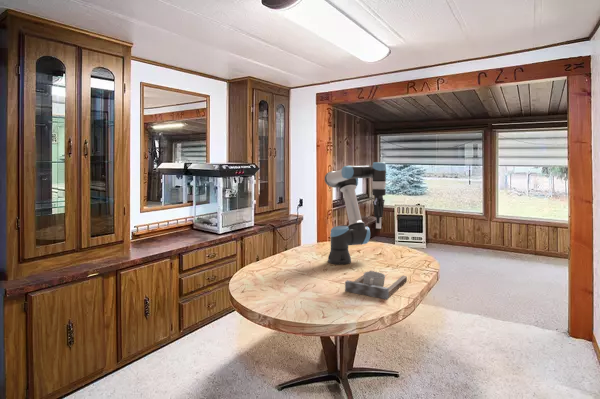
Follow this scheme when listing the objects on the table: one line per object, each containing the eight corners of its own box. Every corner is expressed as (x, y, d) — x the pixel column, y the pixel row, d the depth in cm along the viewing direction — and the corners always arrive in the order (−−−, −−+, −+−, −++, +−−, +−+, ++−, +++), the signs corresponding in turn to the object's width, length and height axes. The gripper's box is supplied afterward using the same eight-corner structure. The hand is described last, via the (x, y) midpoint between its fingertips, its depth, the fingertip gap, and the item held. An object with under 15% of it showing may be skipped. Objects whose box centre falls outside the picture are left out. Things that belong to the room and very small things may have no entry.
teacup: (368, 284, 198) (368, 269, 197) (387, 287, 192) (387, 272, 191) (357, 292, 186) (357, 276, 186) (378, 296, 181) (378, 280, 180)
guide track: (345, 291, 188) (345, 281, 187) (369, 274, 215) (369, 266, 214) (386, 299, 176) (386, 289, 175) (407, 280, 203) (407, 272, 202)
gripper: (381, 189, 208) (380, 230, 210) (389, 188, 219) (388, 227, 221) (368, 189, 212) (368, 229, 214) (377, 187, 223) (376, 226, 225)
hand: (378, 228), depth 218 cm, fingers closed
